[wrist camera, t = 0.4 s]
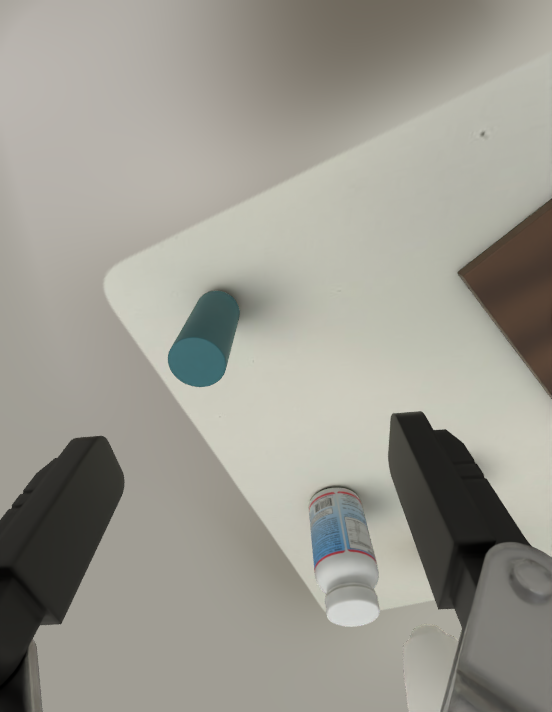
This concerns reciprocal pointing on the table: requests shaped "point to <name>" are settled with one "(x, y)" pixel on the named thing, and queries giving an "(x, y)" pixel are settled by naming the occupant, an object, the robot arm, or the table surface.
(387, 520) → the table surface
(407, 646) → the cup
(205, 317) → the teal cylinder
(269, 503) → the table surface
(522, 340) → the wooden board with hole
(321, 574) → the pill bottle
